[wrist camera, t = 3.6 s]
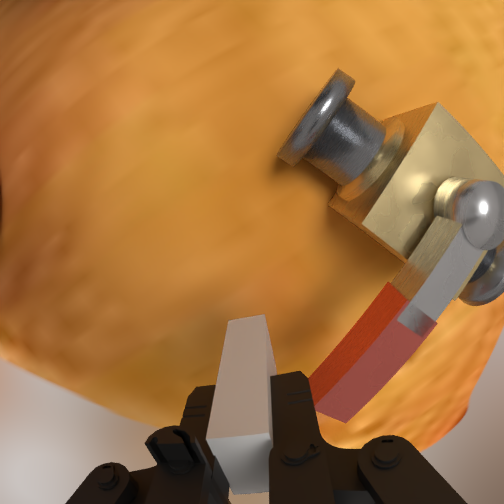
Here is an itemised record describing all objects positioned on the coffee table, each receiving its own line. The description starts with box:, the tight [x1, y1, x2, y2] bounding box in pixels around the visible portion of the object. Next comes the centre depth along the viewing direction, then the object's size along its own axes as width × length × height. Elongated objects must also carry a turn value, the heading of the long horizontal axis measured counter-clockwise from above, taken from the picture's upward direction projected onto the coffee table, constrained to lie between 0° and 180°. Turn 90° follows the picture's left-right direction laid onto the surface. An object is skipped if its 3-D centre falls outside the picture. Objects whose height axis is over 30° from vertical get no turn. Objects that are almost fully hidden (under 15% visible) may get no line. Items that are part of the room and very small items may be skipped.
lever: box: [308, 177, 504, 423], centre depth 14 cm, size 14×3×3 cm, turn 147°
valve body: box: [276, 69, 504, 306], centre depth 18 cm, size 18×8×8 cm, turn 57°
